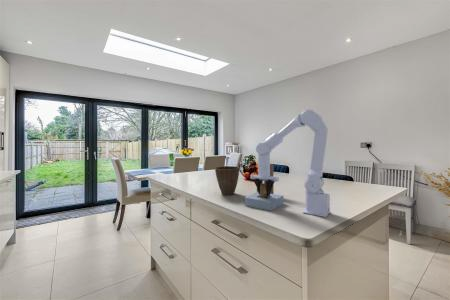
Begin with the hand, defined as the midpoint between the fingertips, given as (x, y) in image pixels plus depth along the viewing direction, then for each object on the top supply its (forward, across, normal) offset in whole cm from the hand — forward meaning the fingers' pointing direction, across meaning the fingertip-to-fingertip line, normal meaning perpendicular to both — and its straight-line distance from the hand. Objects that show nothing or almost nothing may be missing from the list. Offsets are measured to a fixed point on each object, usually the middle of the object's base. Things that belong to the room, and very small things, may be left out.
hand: (264, 194), depth 101 cm
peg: (+3, 0, 0) cm, 3 cm away
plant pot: (+5, -28, +7) cm, 29 cm away
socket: (+5, 0, 0) cm, 5 cm away
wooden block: (+5, -8, +17) cm, 19 cm away
